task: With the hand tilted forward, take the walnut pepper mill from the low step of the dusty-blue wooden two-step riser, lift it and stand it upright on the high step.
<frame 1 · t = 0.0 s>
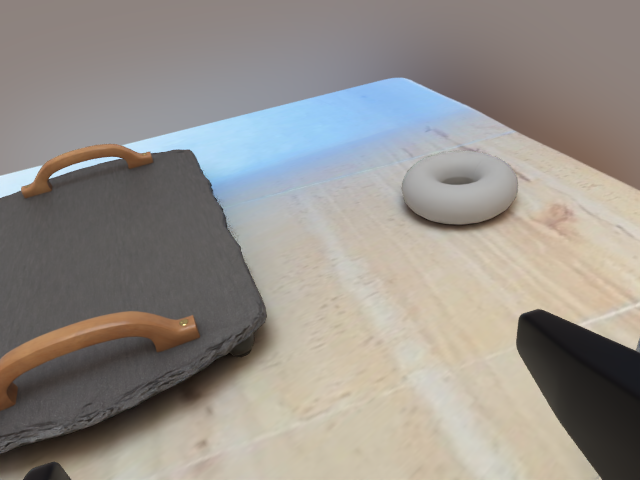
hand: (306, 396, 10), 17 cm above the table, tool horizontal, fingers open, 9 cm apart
serving tray: (104, 274, 45), on the table
donut: (458, 203, 46), on the table
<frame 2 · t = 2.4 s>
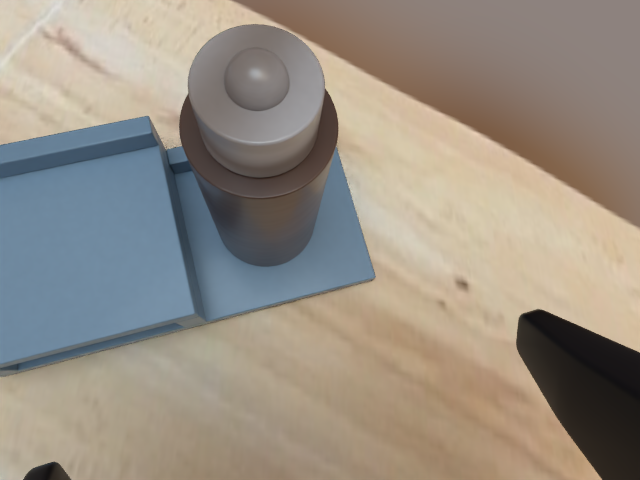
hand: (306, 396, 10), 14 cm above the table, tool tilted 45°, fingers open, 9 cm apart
pepper mill: (266, 219, 24), point 1 cm above the table, touching riser
riser: (180, 244, 24), on the table
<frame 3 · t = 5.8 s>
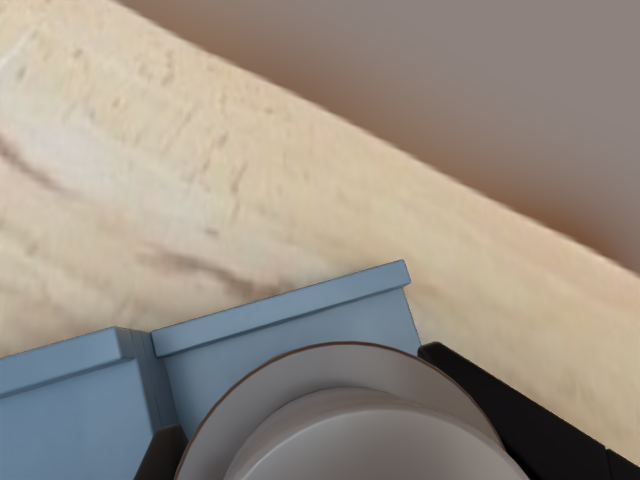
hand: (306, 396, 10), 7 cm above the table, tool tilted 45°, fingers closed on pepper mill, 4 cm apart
pepper mill: (306, 424, 16), point 1 cm above the table, touching gripper, riser
riser: (177, 462, 16), on the table
when the fingers open (11 cm above the table, at t = 10.0 s): pepper mill stays where it is, resting on riser.
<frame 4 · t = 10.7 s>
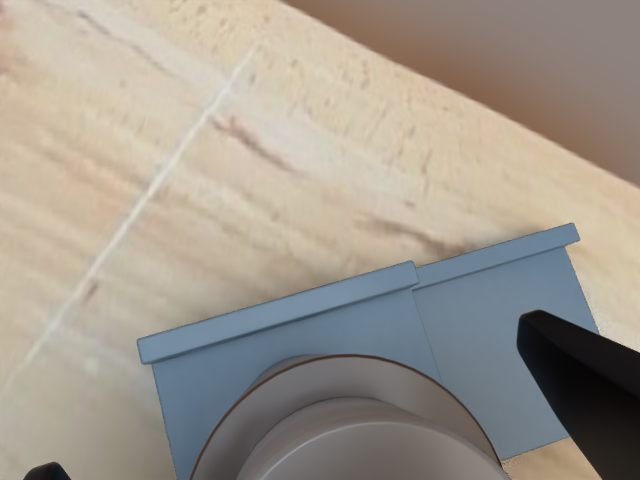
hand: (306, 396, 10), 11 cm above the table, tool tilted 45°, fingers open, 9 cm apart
pepper mill: (308, 428, 16), point 4 cm above the table, touching riser
riser: (399, 378, 21), on the table
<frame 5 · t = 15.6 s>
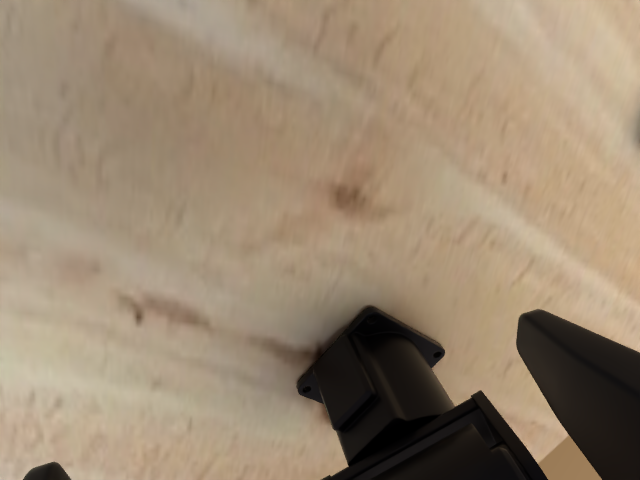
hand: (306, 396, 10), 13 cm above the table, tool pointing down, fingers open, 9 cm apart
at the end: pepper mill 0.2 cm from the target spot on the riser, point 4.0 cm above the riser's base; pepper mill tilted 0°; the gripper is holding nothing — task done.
